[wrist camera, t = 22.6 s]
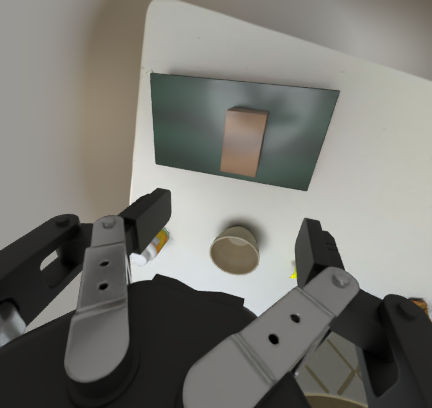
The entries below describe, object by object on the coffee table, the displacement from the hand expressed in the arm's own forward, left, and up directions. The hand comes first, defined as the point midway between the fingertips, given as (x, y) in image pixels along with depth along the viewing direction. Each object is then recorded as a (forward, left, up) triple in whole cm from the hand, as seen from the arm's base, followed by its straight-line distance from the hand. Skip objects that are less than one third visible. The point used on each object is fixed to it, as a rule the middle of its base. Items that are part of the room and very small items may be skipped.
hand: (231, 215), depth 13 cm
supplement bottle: (+28, -21, -28) cm, 45 cm away
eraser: (0, -2, -22) cm, 22 cm away
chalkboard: (0, -5, -28) cm, 28 cm away
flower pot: (+23, -1, -28) cm, 36 cm away
